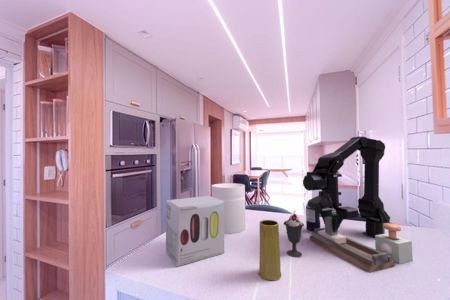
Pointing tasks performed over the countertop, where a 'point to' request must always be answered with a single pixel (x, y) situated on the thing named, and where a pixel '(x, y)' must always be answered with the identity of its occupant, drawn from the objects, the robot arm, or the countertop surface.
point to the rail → (355, 252)
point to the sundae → (294, 234)
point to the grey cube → (394, 248)
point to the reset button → (392, 230)
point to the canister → (231, 205)
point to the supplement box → (194, 229)
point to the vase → (269, 250)
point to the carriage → (331, 232)
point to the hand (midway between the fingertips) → (331, 230)
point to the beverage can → (312, 219)
